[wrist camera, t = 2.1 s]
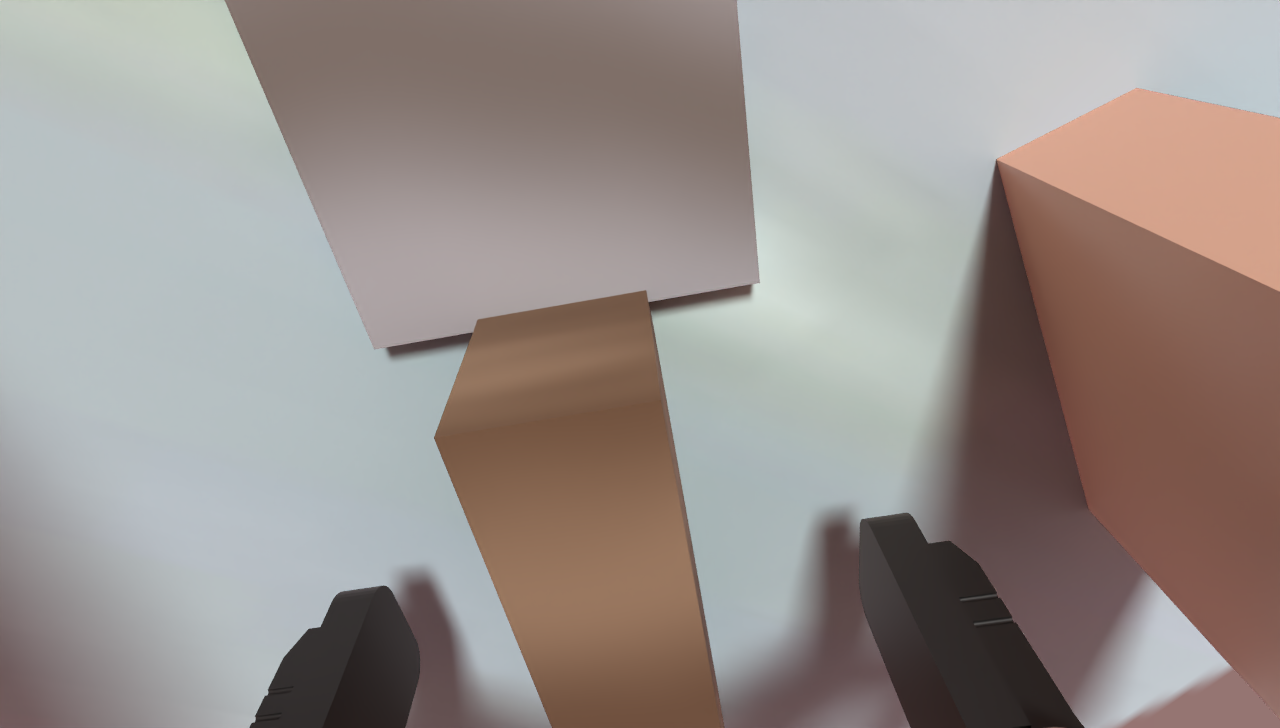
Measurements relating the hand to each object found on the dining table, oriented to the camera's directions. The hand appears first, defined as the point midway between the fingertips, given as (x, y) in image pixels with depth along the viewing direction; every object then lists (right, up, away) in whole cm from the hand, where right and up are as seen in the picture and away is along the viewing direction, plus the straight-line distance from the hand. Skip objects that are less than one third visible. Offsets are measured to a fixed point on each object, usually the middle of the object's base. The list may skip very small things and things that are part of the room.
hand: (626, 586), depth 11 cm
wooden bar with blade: (0, +2, +1) cm, 3 cm away
